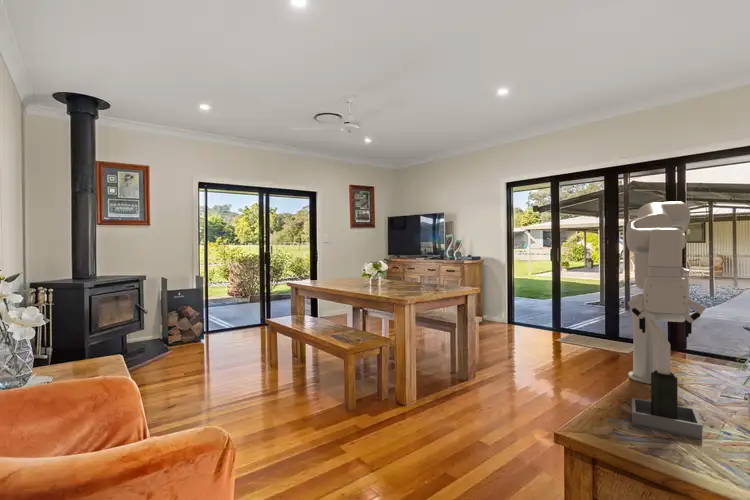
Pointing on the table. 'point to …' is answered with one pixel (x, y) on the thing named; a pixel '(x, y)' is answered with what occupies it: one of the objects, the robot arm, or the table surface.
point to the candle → (664, 384)
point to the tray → (667, 420)
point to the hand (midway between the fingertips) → (664, 333)
